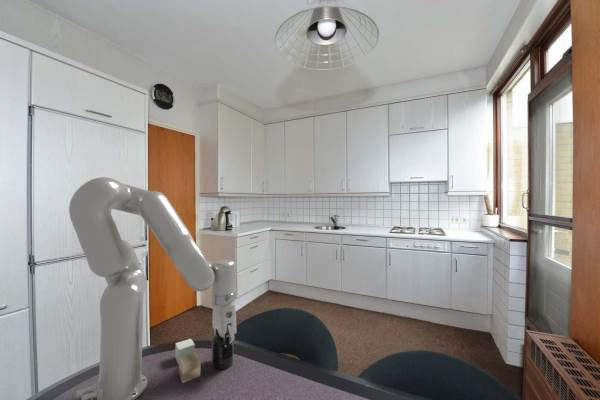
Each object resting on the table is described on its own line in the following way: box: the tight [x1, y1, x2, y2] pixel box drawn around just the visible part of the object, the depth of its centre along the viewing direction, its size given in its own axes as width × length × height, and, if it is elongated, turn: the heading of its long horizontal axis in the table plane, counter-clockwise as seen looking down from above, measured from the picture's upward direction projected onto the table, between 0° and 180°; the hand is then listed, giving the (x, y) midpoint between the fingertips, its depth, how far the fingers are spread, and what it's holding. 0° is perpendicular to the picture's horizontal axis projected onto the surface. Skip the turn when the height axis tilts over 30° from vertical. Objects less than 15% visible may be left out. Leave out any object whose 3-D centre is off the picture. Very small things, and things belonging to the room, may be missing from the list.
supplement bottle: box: [211, 329, 235, 371], centre depth 81 cm, size 7×7×12 cm
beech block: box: [178, 352, 202, 384], centre depth 75 cm, size 5×5×5 cm
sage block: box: [174, 338, 196, 366], centre depth 83 cm, size 5×5×5 cm
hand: (222, 352), depth 80 cm, fingers closed on supplement bottle, 6 cm apart
